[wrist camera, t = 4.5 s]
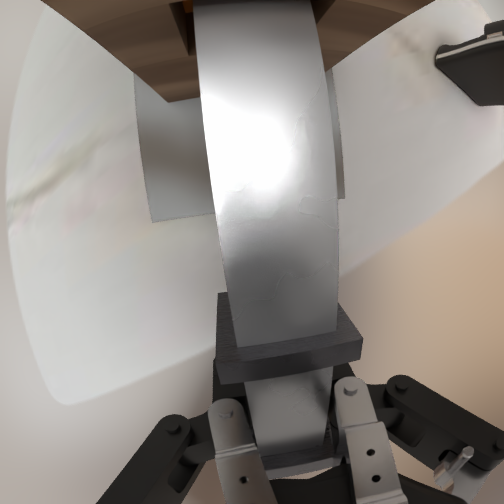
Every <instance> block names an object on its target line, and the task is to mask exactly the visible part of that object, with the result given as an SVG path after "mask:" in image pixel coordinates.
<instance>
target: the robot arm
mask: <svg viewBox="0 0 504 504" xmlns="http://www.w3.org/2000/svg"><path fill="white" fill-rule="evenodd" d="M215 362H216V357H215V359H214V360H213V401H212V404H211V406H210V407H209V409H208V411H207V412H205V413H204V414H202V415H200V416H197V417H194V418H191V419H187V418H185V417H184V416H182V415H176V414H173V415H168V416H166V417H164V418H162V419H161V420H160V421H159V422H158V424H157V425H156V426H155V428H154V429H153V430H152V432H151V433H150V434H149V436H148V437H147V438H146V440H145V441H144V442H143V444H142V445H141V446H140V448H139V449H138V450H137V452H136V453H135V454H134V455H133V457H132V458H131V459H130V461H129V462H128V463H127V465H126V466H125V467H124V468H123V470H122V471H121V472H120V474H119V475H118V476H117V478H116V479H115V480H114V481H113V483H112V484H111V485H110V486H109V488H108V489H107V490H106V492H105V493H104V494H103V495H102V497H101V498H100V499H99V500H98V502H97V503H96V504H181V503H182V501H183V500H184V498H185V496H186V495H187V493H188V492H189V490H190V488H191V486H192V485H193V483H194V482H195V480H196V478H197V476H198V475H199V473H200V471H201V469H202V468H203V466H204V464H205V463H206V461H208V460H211V459H214V458H215V460H216V464H217V468H218V473H219V477H220V481H221V485H222V489H223V493H224V497H225V501H226V504H470V503H471V501H472V500H473V499H474V497H475V496H476V494H477V493H478V491H479V490H480V488H481V487H482V485H483V484H484V482H485V480H486V479H487V477H488V475H489V474H490V472H491V471H492V470H493V469H494V468H495V467H496V466H497V465H498V464H500V463H501V462H502V461H503V460H504V431H502V430H500V429H499V428H497V427H495V426H493V425H491V424H490V423H488V422H486V421H484V420H483V419H481V418H479V417H477V416H476V415H474V414H472V413H470V412H468V411H467V410H465V409H463V408H462V407H460V406H458V405H456V404H455V403H453V402H451V401H450V400H448V399H446V398H444V397H443V396H441V395H439V394H438V393H436V392H434V391H433V390H431V389H429V388H427V387H426V386H424V385H423V384H421V383H419V382H418V381H416V380H414V379H413V378H411V377H409V376H406V375H396V376H393V377H391V378H390V379H389V380H388V382H387V384H379V385H370V384H366V383H365V382H364V381H363V380H362V379H360V378H357V377H356V376H355V375H354V373H353V371H352V369H351V367H350V365H349V363H344V364H340V365H336V366H333V374H332V383H331V392H330V400H329V408H328V417H329V432H330V439H331V447H332V455H333V465H332V468H331V469H329V470H327V471H325V472H323V473H321V474H319V475H317V476H315V477H312V478H310V479H273V480H269V479H268V477H267V474H266V471H265V469H264V466H263V463H262V460H261V458H260V455H259V452H258V449H257V447H256V445H255V443H254V440H253V437H252V434H251V431H250V427H253V423H252V419H251V414H250V409H249V404H248V399H247V394H246V389H245V384H244V382H241V383H232V384H223V385H221V383H220V379H219V376H218V372H217V368H216V365H215ZM389 440H391V441H392V442H393V443H395V444H396V445H398V446H399V447H400V448H402V449H403V450H404V451H406V452H407V453H409V454H410V455H412V456H413V457H414V458H416V459H417V460H419V461H420V462H422V463H423V464H425V465H426V466H428V467H429V468H430V469H432V470H433V471H434V480H435V484H437V485H439V486H440V487H441V489H442V491H440V490H437V489H435V488H432V487H430V486H427V485H425V484H422V483H419V482H417V481H415V480H413V479H410V478H408V477H405V476H403V475H401V474H399V473H397V469H396V465H395V461H394V457H393V453H392V449H391V446H390V443H389Z"/></svg>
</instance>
